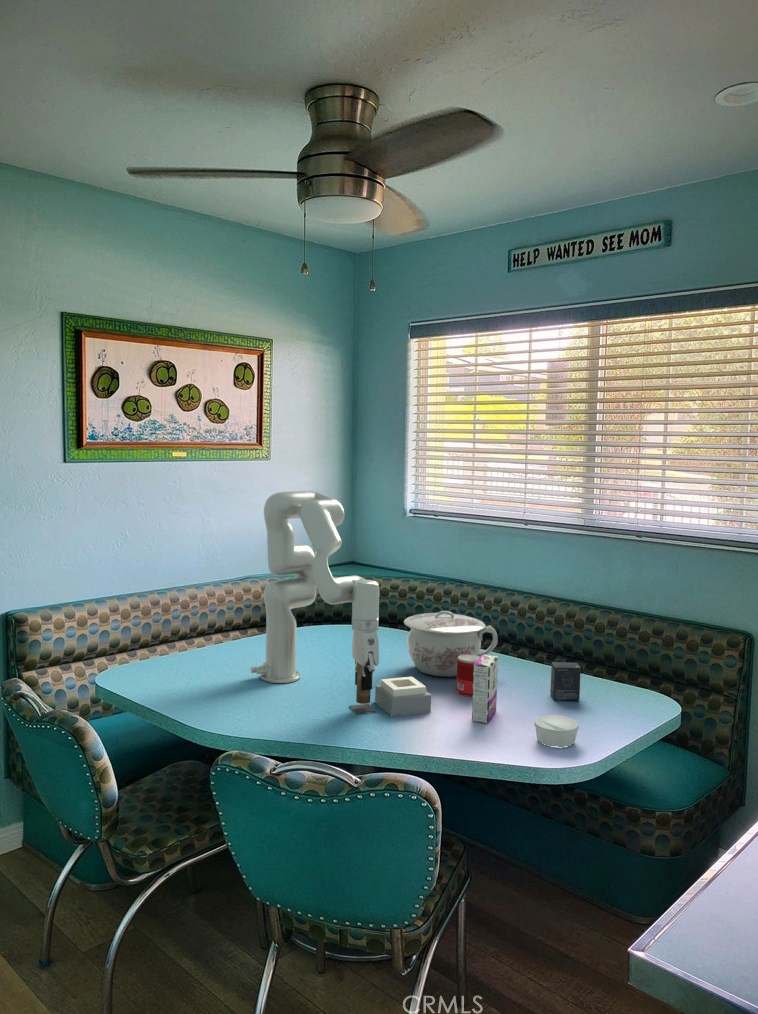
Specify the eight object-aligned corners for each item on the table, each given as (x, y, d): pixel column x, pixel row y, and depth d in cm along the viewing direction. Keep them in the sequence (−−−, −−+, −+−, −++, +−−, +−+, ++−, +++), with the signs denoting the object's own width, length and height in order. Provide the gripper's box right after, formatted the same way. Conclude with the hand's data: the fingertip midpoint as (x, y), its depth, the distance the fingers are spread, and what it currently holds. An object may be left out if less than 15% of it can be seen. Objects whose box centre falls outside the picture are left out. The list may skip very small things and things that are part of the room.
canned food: (481, 697, 237) (482, 662, 236) (454, 695, 239) (456, 659, 238) (482, 689, 245) (484, 655, 244) (457, 687, 246) (458, 653, 245)
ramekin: (530, 746, 201) (531, 726, 200) (537, 731, 211) (538, 712, 211) (574, 753, 197) (575, 733, 196) (580, 738, 207) (581, 719, 207)
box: (575, 695, 242) (576, 662, 241) (579, 701, 237) (581, 667, 236) (549, 694, 242) (551, 661, 241) (553, 700, 237) (555, 666, 236)
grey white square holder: (391, 716, 219) (392, 691, 218) (375, 701, 231) (375, 678, 230) (430, 712, 223) (431, 688, 223) (412, 697, 235) (412, 674, 235)
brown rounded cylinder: (372, 702, 222) (373, 654, 221) (359, 704, 221) (360, 655, 219) (367, 698, 226) (368, 650, 225) (354, 699, 224) (355, 651, 223)
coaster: (356, 714, 220) (356, 712, 220) (349, 707, 225) (349, 705, 225) (376, 711, 222) (376, 710, 222) (368, 705, 227) (368, 703, 227)
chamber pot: (384, 669, 263) (386, 608, 262) (439, 655, 282) (441, 598, 281) (447, 690, 243) (450, 624, 242) (501, 673, 262) (504, 613, 261)
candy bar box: (479, 709, 227) (481, 653, 226) (496, 711, 225) (499, 655, 224) (470, 721, 217) (472, 663, 215) (488, 724, 215) (490, 666, 214)
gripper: (388, 630, 215) (386, 695, 216) (367, 616, 230) (365, 677, 232) (363, 631, 212) (361, 697, 214) (342, 618, 228) (341, 679, 229)
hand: (363, 686), depth 223 cm, fingers closed on brown rounded cylinder, 4 cm apart
